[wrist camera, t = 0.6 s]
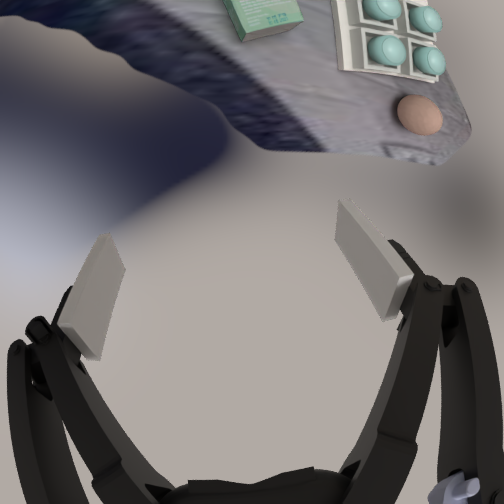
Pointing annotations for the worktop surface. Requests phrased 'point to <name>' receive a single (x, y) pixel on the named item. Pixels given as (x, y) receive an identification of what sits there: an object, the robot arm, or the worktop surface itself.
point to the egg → (419, 115)
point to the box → (263, 17)
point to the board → (364, 28)
